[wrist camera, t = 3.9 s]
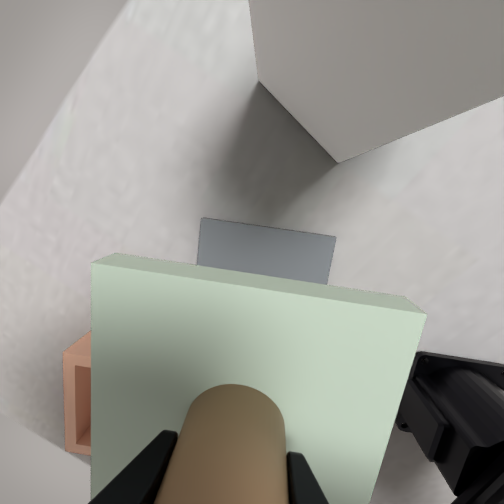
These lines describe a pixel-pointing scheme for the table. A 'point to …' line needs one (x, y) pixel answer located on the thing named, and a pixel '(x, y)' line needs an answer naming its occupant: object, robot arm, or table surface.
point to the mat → (265, 250)
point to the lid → (244, 379)
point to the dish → (77, 396)
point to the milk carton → (377, 64)
